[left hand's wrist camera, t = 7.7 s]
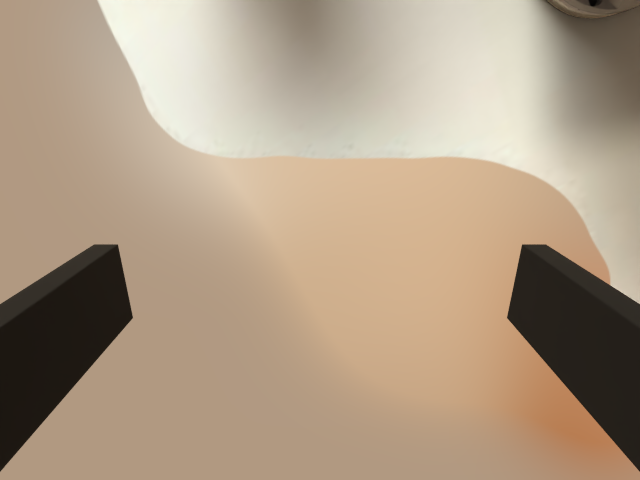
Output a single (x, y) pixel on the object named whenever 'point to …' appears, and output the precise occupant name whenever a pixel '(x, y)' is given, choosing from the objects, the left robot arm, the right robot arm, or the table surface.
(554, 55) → the table surface
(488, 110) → the table surface
